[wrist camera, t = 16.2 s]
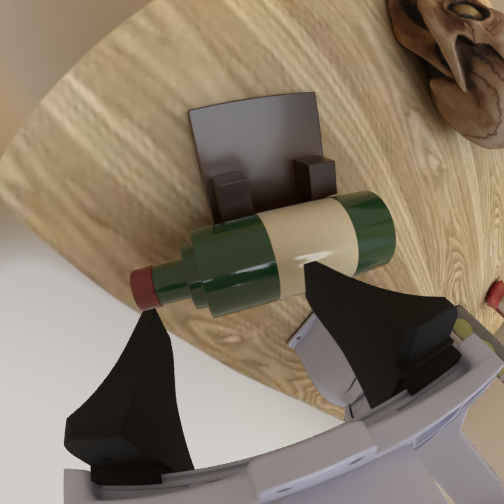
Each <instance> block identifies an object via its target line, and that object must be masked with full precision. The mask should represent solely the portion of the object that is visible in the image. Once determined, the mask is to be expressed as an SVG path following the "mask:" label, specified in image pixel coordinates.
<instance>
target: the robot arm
mask: <svg viewBox="0 0 504 504" xmlns="http://www.w3.org/2000/svg"><path fill="white" fill-rule="evenodd" d="M304 278H305V292H306V299H307V300H308V302H309V304H310V306H311V308H312V310H313V311H314V312H313V314H312V315H311V316H310V317H309V318H308V320H307V321H306V322H305V323H304V324H303V325H302V327H301V328H300V329H299V330H298V331H297V332H296V333H295V335H294V336H293V337H292V338H291V339H290V340H289V341H288V346H289V347H291V348H294V349H295V351H296V353H297V355H298V357H299V359H300V360H301V362H302V364H303V366H304V368H305V370H306V372H307V373H308V375H309V377H310V379H311V381H312V383H313V384H314V386H315V388H316V389H317V390H318V392H319V393H320V394H321V395H322V396H323V397H324V398H325V399H327V400H328V401H329V402H331V403H333V404H335V405H337V406H342V407H344V406H346V407H345V423H343V424H341V425H339V426H337V427H334V428H332V429H330V430H327V431H325V432H323V433H321V434H318V435H316V436H313V437H311V438H308V439H305V440H303V441H300V442H297V443H295V444H292V445H289V446H286V447H283V448H281V449H277V450H274V451H271V452H268V453H265V454H261V455H258V456H255V457H251V458H247V459H243V460H240V461H235V462H231V463H227V464H222V465H218V466H213V467H208V468H202V469H197V470H195V469H194V466H193V463H192V460H191V458H190V455H189V451H188V448H187V445H186V441H185V438H184V434H183V430H182V426H181V422H180V417H179V412H178V408H177V402H176V392H175V377H174V359H173V351H172V346H171V340H170V337H169V335H168V333H167V331H166V329H165V327H164V325H163V323H162V321H161V319H160V317H159V315H158V313H157V311H156V309H155V308H153V309H149V310H146V311H143V313H142V314H141V316H140V319H139V321H138V323H137V325H136V327H135V329H134V331H133V333H132V335H131V337H130V339H129V341H128V343H127V345H126V347H125V349H124V351H123V352H122V354H121V356H120V358H119V360H118V361H117V363H116V364H115V366H114V367H113V369H112V370H111V372H110V373H109V375H108V376H107V377H106V379H105V380H104V381H103V383H102V384H101V385H100V386H99V387H98V389H97V390H96V391H95V392H94V393H93V395H92V396H91V397H90V398H89V399H88V400H87V401H86V402H85V403H84V404H83V405H82V406H81V407H80V408H78V409H77V410H76V411H75V412H74V413H73V414H71V415H70V416H69V417H68V418H67V421H66V428H65V437H64V446H65V448H66V449H67V450H68V451H69V452H70V453H71V454H73V455H74V456H75V457H77V458H79V459H80V460H82V461H84V462H85V463H87V464H89V465H90V466H91V472H90V471H86V470H77V469H64V504H448V502H447V500H446V499H445V497H444V496H443V494H442V493H441V491H440V489H439V488H438V486H437V485H436V483H435V482H434V480H435V481H436V482H437V483H438V484H439V485H440V486H441V488H442V489H443V490H444V491H445V492H446V493H447V494H448V495H449V497H450V498H451V499H452V500H453V501H454V502H455V503H456V504H504V482H503V481H502V480H501V478H500V477H499V476H498V474H497V473H496V472H495V470H494V469H493V468H492V466H491V465H490V464H489V463H488V461H487V460H486V459H485V458H484V456H483V455H482V454H481V453H480V451H479V450H478V449H477V448H476V446H475V445H474V444H473V443H472V441H471V440H470V439H469V438H468V437H467V436H466V434H465V433H464V432H463V430H462V425H463V422H464V419H465V416H466V413H467V410H468V408H469V407H470V406H471V405H472V404H473V403H474V402H475V401H476V400H477V399H478V398H479V397H480V396H481V395H482V394H483V393H484V391H485V390H486V389H487V388H488V386H489V385H490V384H491V382H492V381H493V380H494V378H495V377H496V376H497V374H498V373H499V372H500V370H501V369H502V367H503V366H504V362H503V361H502V360H501V359H500V358H499V357H498V356H497V355H496V354H495V353H494V352H493V351H492V350H491V349H490V348H489V347H488V346H487V345H486V344H485V343H484V342H483V341H482V340H481V339H480V338H479V337H478V336H477V335H476V334H475V333H472V334H471V335H470V336H468V337H467V338H466V339H465V340H464V341H462V342H461V343H460V344H459V345H458V346H457V348H455V347H454V346H453V345H452V344H453V343H454V340H453V339H452V338H451V337H450V334H451V332H452V330H453V327H454V325H455V322H456V319H457V315H458V310H457V308H456V307H455V306H454V305H453V304H452V303H451V302H450V301H448V300H447V299H446V298H445V297H428V296H417V295H409V294H403V293H398V292H394V291H389V290H385V289H382V288H379V287H375V286H372V285H369V284H366V283H364V282H361V281H359V280H356V279H354V278H351V277H349V276H347V275H345V274H343V273H340V272H338V271H336V270H334V269H332V268H330V267H328V266H326V265H324V264H322V263H319V262H317V261H312V262H309V263H306V264H304ZM431 476H432V477H433V478H434V480H433V478H432V477H431Z"/></svg>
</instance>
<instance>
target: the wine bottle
mask: <svg viewBox="0 0 504 504" xmlns="http://www.w3.org/2000/svg"><path fill="white" fill-rule="evenodd" d="M190 234H191V241H192V243H189V244H185V245H182V246H181V249H180V251H181V259H180V260H176V261H173V262H169V263H165V264H161V265H158V266H152V265H151V266H147V267H144V268H140V269H136V270H133V271H132V272H131V275H130V284H131V290H132V294H133V297H134V300H135V302H136V304H137V306H138V307H139V309H140V310H141V311H146V310H149V309H153V308H159V307H163V306H164V304H168V303H172V302H176V301H180V300H184V299H188V298H192V300H193V302H194V305H195V307H196V308H197V309H203V308H207V307H209V309H210V312H211V314H212V316H213V318H218V317H222V316H226V315H229V314H233V313H237V312H240V311H244V310H248V309H251V308H255V307H258V306H262V305H265V304H269V303H272V302H275V301H280V300H284V299H287V298H290V297H294V296H297V295H300V294H303V293H306V292H305V278H304V264H306V263H309V262H312V261H317V262H319V263H322V264H324V265H326V266H328V267H330V268H332V269H334V270H336V271H338V272H340V273H343V274H345V275H347V276H349V277H354V276H357V275H360V274H362V273H365V272H368V271H371V270H374V269H377V268H379V267H382V266H385V265H386V264H388V263H389V262H390V260H391V259H392V257H393V254H394V251H395V245H396V235H395V227H394V223H393V220H392V217H391V214H390V212H389V210H388V208H387V206H386V205H385V203H384V202H383V201H382V199H381V198H380V197H379V196H377V195H376V194H375V193H373V192H371V191H359V192H354V193H349V194H344V195H339V196H334V197H327V198H322V199H318V200H313V201H308V202H304V203H299V204H294V205H290V206H286V207H281V208H277V209H272V210H268V211H264V212H259V213H256V214H253V215H249V216H245V217H241V218H236V219H232V220H228V221H224V222H220V223H216V224H212V225H208V226H204V227H200V228H197V229H193V230H191V232H190Z"/></svg>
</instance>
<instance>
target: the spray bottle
mask: <svg viewBox="0 0 504 504" xmlns="http://www.w3.org/2000/svg"><path fill="white" fill-rule="evenodd" d="M456 308H457V310H458V315H457V319H456V322H455V325H454V327H453V330H452V331H453V332H454V333H455V334H456V335H457V336H458V337H459V338H460V339H461V340H462V341H464V340H465V339H466V338H467V337H468V336H470V335H471V334H472V333H475V334H476V335H477V336H478V337H479V338H480V339H481V340H482V341H483V342H484V343H485V344H486V345H487V346H488V347H489V348H490V349H491V350H492V351H493V352H494V353H495V354H496V355H497V356H498V357H499V358H500V359H501V360H502V361H503V362H504V346H503V345H502V344H501V343H500V342H499V341H498V340H497V339H496V338H495V337H494V336H493V335H492V334H491V333H490V332H489V331H488V330H487V329H486V328H485V327H484V326H483V325H482V324H481V323H480V322H479V321H478V320H476V319H475V318H474V317H473V316H472V315H471V314H470V313H469V312H468V311H467V310H466V309H464V308H463V307H462V306H458V307H456ZM497 377H498V378H499V379H501V381H502V382H503V383H504V366H503V367H502V369H501V370H500V372H499V373H498V374H497Z"/></svg>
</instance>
